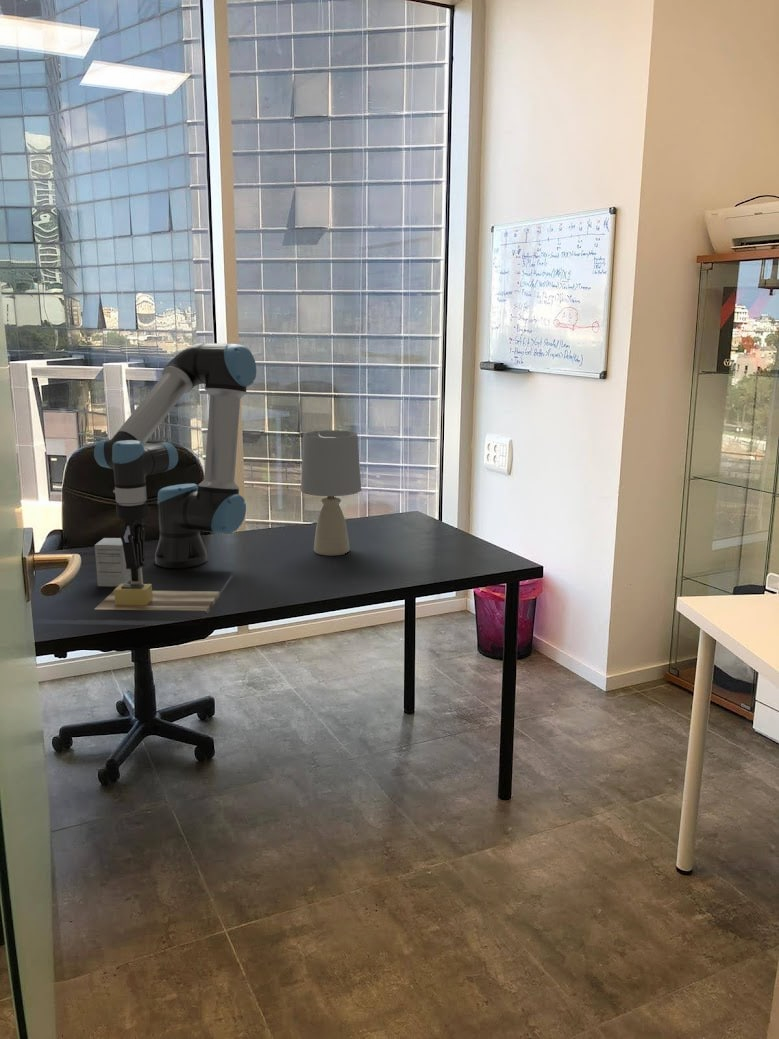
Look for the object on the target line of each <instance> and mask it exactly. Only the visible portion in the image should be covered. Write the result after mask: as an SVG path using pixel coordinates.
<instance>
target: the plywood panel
mask: <svg viewBox="0 0 779 1039" xmlns="http://www.w3.org/2000/svg"><path fill="white" fill-rule="evenodd" d="M220 595H221V594H220V591H219V590H217V591H213V590H206V591H205V590H202V591H201V590H199V591H198V590H197V591H196V590H195V591H194V590H152V597H153V599H152V600H151V601H150V602H149V603H148V605H115V594H114V590H113V591H112V592H111V593H109V594H108V596H106V597H105V598H104V599H102V601H101V602H100V603H99V604H98V605H97V606H96V607H95V608H94V610H112V611H113V610H114V611H115V610H116V611H117V610H118V611H121V610H122V611H124V610H125V611H186V612H187V611H193V612H194V611H197V612H202V611H203V612H204V615H208V613H210V611H211V609H212V608H213V606H214V605H215V603H216V602H217V600H218V598H219V596H220Z"/></svg>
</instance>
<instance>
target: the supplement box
mask: <svg viewBox="0 0 779 1039" xmlns="http://www.w3.org/2000/svg"><path fill="white" fill-rule="evenodd" d="M94 555H95V567H96V579H97V580H96V581H97V587H118V586H119V585H120V584H130V583H131V580H130V569H126V561H125V555H124V549H123V543H122V540H121V537H103V538H102V539H101V540H99V541H98V542H96V544H94Z"/></svg>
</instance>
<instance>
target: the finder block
mask: <svg viewBox="0 0 779 1039" xmlns="http://www.w3.org/2000/svg"><path fill="white" fill-rule="evenodd" d="M152 586H153V584H152V583H143V584H131V583H128V584H120V585H119V586H116V587H115V588H114V589H113V591H114V594H115V605H148V603H149V602H150V601H151V600H152V599H153V597H152V591H153V587H152Z"/></svg>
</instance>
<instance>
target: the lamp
mask: <svg viewBox="0 0 779 1039" xmlns="http://www.w3.org/2000/svg"><path fill="white" fill-rule="evenodd" d="M358 436H359V435H358V433H357V432H354V431H350V430H337V429H336V430H332V429H331V430H325V429H324V430H313V431H307V432H304V433H303V436H302V450H301V451H302V454H301V455H302V458H301V475H300V477H301V478H300V492H301V493H302V494H305V495H308V496H309V495H310V496H317V497H323V498H322V499H321V503H322V508H321V510H320V512H319V515H318V518H317V522H316V525H315V526H316V528H315V534H314V544H313V551H314V553H316V554H317V555H320V556H330V557H331V556H333V557H335V556H336V557H337V556H343V555H346V554H347V552H348V553H349V551H350V541H349V534H348V528H347V523H346V522H347V521H346V518H345V515H344V513H343V511H342V508H341V506H340V504H341V501H342V499H341V498H340V497H344V496H350V495H355V494H358V493H360V492H361V491H362V481H361V468H360V453H359V452H360V450H359V440H358ZM345 553H346V554H345Z"/></svg>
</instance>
